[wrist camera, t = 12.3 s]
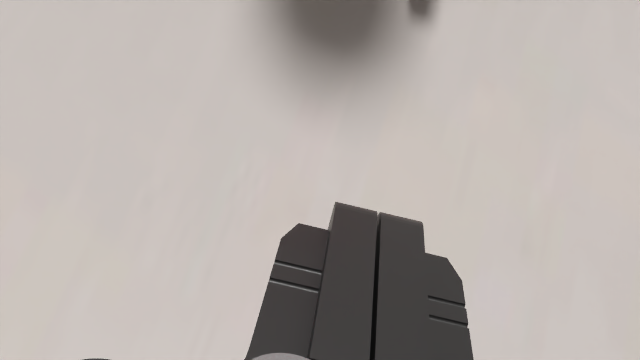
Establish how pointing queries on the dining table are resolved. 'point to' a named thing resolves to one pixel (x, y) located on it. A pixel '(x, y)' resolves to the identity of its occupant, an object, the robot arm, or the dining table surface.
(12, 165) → the dining table surface
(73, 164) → the dining table surface
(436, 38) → the dining table surface
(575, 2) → the dining table surface
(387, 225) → the robot arm
